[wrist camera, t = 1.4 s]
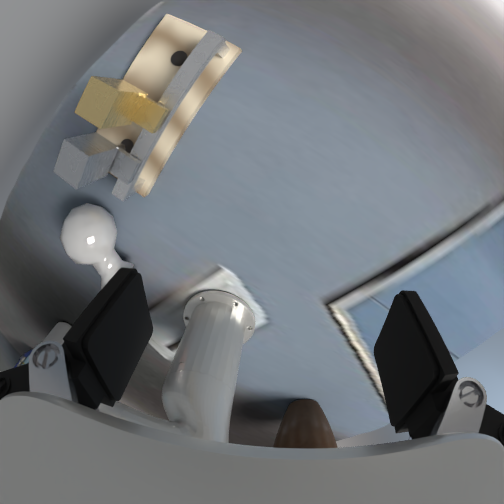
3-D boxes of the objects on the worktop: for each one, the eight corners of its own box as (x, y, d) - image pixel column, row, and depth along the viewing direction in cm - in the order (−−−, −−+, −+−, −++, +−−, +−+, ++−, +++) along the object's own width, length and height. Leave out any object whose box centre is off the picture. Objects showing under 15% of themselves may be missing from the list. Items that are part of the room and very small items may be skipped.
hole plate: (148, 194, 38) (143, 197, 37) (91, 154, 36) (85, 156, 34) (242, 51, 28) (240, 48, 27) (170, 16, 26) (166, 13, 24)
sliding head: (169, 133, 32) (122, 143, 21) (129, 109, 30) (74, 112, 20) (185, 107, 30) (143, 104, 20) (143, 83, 29) (91, 75, 18)
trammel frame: (140, 190, 37) (89, 223, 25) (105, 166, 35) (48, 190, 24) (231, 47, 27) (206, 14, 16) (187, 25, 25) (146, -8, 14)
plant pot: (347, 397, 56) (354, 455, 42) (314, 423, 63) (315, 475, 49) (291, 384, 55) (290, 449, 40) (263, 413, 61) (258, 468, 47)
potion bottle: (97, 188, 40) (143, 258, 47) (53, 222, 37) (101, 289, 45) (96, 192, 32) (152, 276, 40) (42, 234, 30) (103, 313, 37)
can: (59, 314, 54) (32, 346, 43) (82, 331, 55) (57, 366, 44) (58, 331, 57) (34, 361, 46) (80, 347, 58) (58, 379, 48)
